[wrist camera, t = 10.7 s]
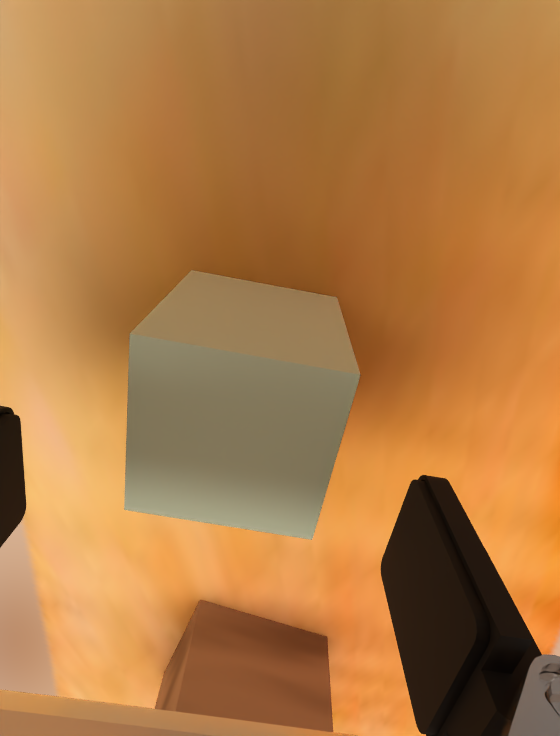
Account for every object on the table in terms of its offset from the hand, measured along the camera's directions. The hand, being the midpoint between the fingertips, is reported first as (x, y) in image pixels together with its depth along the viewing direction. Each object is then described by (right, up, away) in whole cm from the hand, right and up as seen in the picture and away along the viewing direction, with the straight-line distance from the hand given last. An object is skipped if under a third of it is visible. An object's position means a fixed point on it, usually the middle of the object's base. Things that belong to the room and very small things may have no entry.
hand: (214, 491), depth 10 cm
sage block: (+1, +4, +5) cm, 7 cm away
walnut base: (-1, -13, +13) cm, 19 cm away
